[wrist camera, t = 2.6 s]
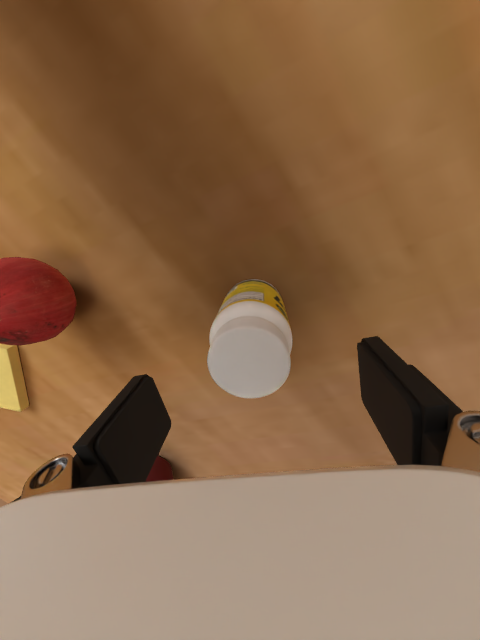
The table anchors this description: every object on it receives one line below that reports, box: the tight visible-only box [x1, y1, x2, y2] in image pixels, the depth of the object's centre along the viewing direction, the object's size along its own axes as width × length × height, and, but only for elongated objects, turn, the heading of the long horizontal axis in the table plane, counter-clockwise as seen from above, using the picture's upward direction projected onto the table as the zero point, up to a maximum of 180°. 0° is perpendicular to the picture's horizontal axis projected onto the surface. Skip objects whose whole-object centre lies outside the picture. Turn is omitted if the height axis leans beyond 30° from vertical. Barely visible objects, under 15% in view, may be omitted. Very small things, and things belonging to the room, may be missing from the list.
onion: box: [0, 257, 76, 345], centre depth 16 cm, size 6×6×8 cm
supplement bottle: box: [207, 279, 292, 398], centre depth 15 cm, size 5×5×8 cm
